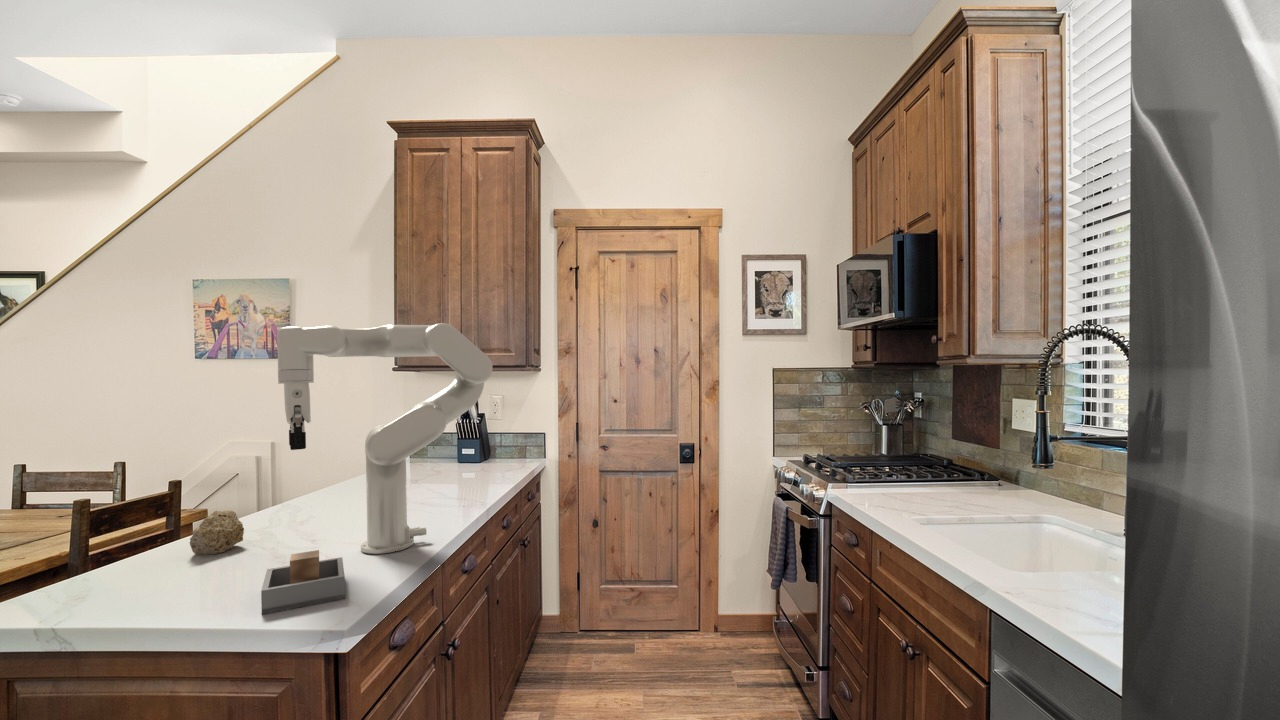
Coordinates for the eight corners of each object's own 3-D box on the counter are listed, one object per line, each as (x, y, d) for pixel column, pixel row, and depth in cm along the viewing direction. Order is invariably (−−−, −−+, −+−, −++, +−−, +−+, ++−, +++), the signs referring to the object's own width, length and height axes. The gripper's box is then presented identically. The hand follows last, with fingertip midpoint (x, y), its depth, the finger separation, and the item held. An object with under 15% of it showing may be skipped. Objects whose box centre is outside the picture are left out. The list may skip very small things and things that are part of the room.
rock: (256, 523, 154) (228, 502, 156) (211, 541, 142) (182, 518, 144) (241, 555, 156) (214, 535, 158) (196, 576, 144) (167, 553, 146)
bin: (342, 577, 128) (342, 557, 128) (345, 598, 116) (344, 576, 116) (267, 590, 121) (267, 569, 121) (261, 614, 109) (261, 590, 109)
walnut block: (319, 583, 122) (318, 550, 122) (319, 591, 118) (318, 556, 118) (291, 588, 120) (291, 554, 120) (290, 596, 115) (289, 560, 115)
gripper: (315, 376, 137) (317, 449, 137) (311, 376, 151) (312, 442, 151) (278, 377, 133) (279, 452, 133) (277, 377, 147) (278, 445, 147)
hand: (297, 447), depth 142 cm, fingers open, 9 cm apart
